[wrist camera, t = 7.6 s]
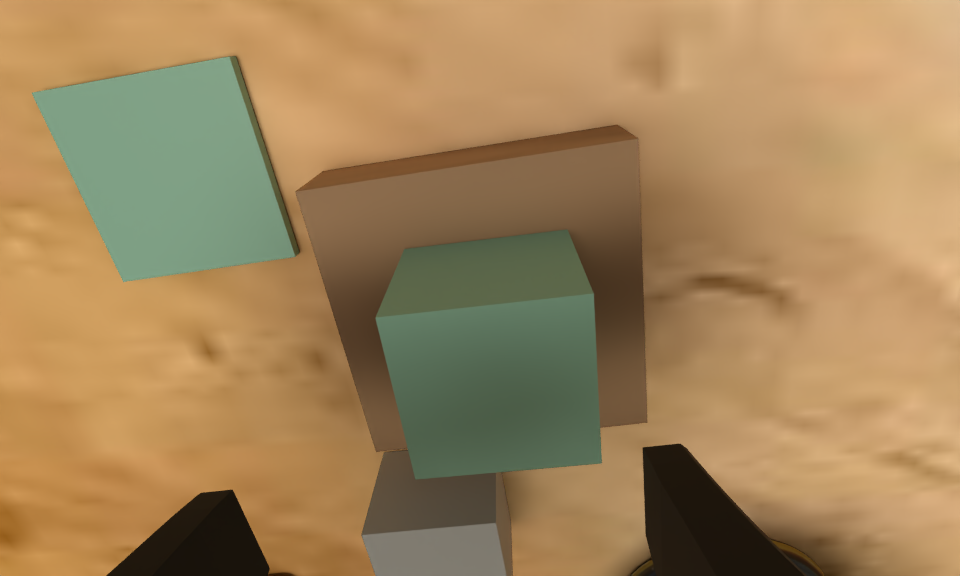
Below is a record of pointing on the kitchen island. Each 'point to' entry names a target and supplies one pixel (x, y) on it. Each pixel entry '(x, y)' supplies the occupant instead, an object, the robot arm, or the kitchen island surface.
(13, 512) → the kitchen island surface
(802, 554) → the apothecary jar
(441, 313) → the teal block
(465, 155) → the walnut block
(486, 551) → the slate block
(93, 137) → the teal square tile
